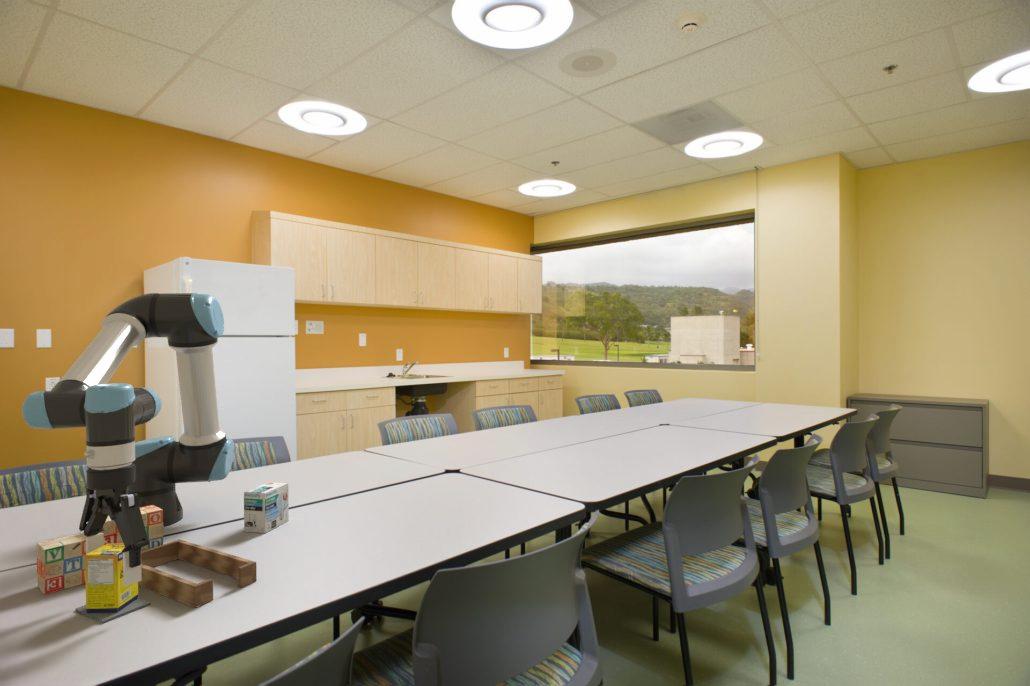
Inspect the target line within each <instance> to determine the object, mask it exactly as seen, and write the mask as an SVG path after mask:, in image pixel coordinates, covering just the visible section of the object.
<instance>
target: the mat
mask: <svg viewBox="0 0 1030 686" xmlns="http://www.w3.org/2000/svg"><path fill="white" fill-rule="evenodd" d="M150 605H151V602H149V601H147V600H145V599H142V598H139V597H138V598H137V599H135V600H134V601H133V602H131V603H130V604H128V605H127V606H125V607H124V608H123V609H121V610H120V611H118V612H89V613H87V612H86V604H84V605H82V606H77V607H76V608H75V611H76V612H77V613H80V614H82V615H84V616H86V617H88V618H91V619H92V620H94V621H96V622H99V623H101V624H102V625H103V624H105V623H107V622H110V621H112V620H116V619H117V618H120V617H122V616H125V615H128V614H130V613H133V612H134V611H135V612H136V611H137V610H138V611H139V609H142V608H146V607H148V606H150Z"/></svg>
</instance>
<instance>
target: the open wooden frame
mask: <svg viewBox="0 0 1030 686" xmlns="http://www.w3.org/2000/svg"><path fill="white" fill-rule="evenodd" d="M177 559H178V560H181V561H185V562H188V563H191V564H194V565H197V566H199V567H202V568H206V569H208V570H212V571H215V572H218V573H221V574H223V575H227V576H230V577H233V578H236V579H238V580H237V582H238V583H237V584H238V585H237V586H238V587H237V588H244V587H246V586H248V585H251V584H253V583H256V582H257V577H258V576H257V561H253V560H250V559H247V558H244V557H240V556H236V555H234V554H230V553H226V552H223V551H220V550H216V549H213V548H211V547H206V546H203V545H201V544H197V543H194V542H190V541H186V540H184V539H183V540H182V539H176V540H173V541H170V542H167V543H163V545H160V546H157V547H154V548H151V549H148V550H144V551H141V577H142V581H139V582H138V587H139V586H140V587H142V588H144V589H147V590H150V591H152V592H155V593H156V594H159V595H161V596H162V595H163V596H165V597H166V598H170V599H173V600H175V601H177V602H180V603H182V604H185V605H188V606H191V607H192V608H198V607H201V606H202V605H205V604H207V603H210V602H212V601H214V579H212V578H208V579H205V580H203V581H200V582H198V583H197V582H195V581H191V580H189V579H186V578H182V577H180V576H177V575H174V574H171V573H169V572H166V571H162V570H160V569H158V568H154V567H157V566H160V565H163V564H166V563H169V562H172V561H175V560H177Z"/></svg>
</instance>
